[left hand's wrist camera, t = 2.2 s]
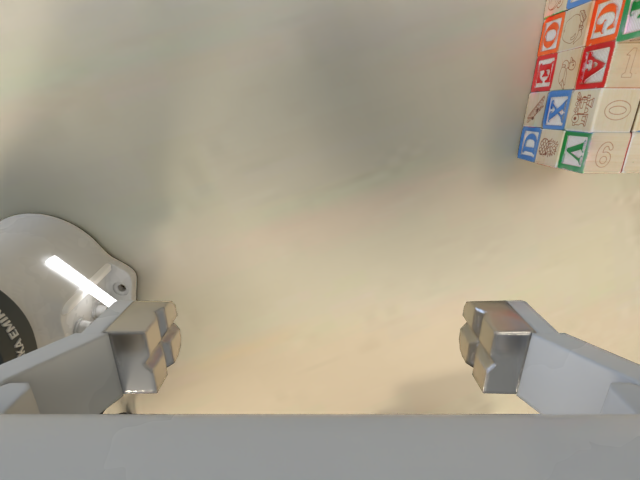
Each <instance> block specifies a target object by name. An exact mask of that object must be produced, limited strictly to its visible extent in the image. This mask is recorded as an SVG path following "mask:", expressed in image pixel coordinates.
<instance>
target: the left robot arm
mask: <svg viewBox="0 0 640 480" xmlns="http://www.w3.org/2000/svg"><path fill="white" fill-rule="evenodd" d="M121 285H124V286H125V287H126V288H123V287H122V286H121ZM136 290H137V275H136V273H135V271H134V270H133V269H132V268H131V267H129V266H128V265H126V264H124V263H123V262H121V261H119V260H117V259H115V258H113V257H111V256H110V255H109V254H108V253H107V252H106V251H105V250H104V249H103V248H102V247H101V246H100V245H99V244H98V243H97V242H96V241H95V240H94V239H93V238H92V237H91V236H89V235H88V234H87V233H86V232H84V231H83V230H81V229H80V228H78V227H77V226H75V225H73V224H71V223H69V222H67V221H65V220H62V219H59V218H56V217H53V216H49V215H44V214H33V213H28V214H19V215H14V216H10V217H8V218H5V219H3V220H1V221H0V480H640V365H639V364H637V363H634V362H632V361H629V360H627V359H625V358H622V357H620V356H618V355H615V354H613V353H611V352H608V351H606V350H603V349H601V348H599V347H596V346H594V345H592V344H589V343H587V342H585V341H582V340H580V339H578V338H575V337H573V336H570V335H568V334H566V333H558V332H557V331H556V330H555V329H554V328H553V327H552V326H551V325H550V324H549V323H548V322H547V321H546V320H545V319H543V318H542V317H541V316H540V315H539V314H538V313H537V312H536V311H535V310H534V309H533V308H532V307H531V306H530V305H529V304H528V303H527V302H525V301H522V300H511V301H471V302H466V304H465V306H464V310H463V317H464V318H465V320H466V321H467V322H466V324H465V325H464V326H463V327H462V328H461V329H460V335H459V344H460V351H461V354H462V357H463V359H464V360H465V362H466V363H467V364H468V365H470V366H472V367H473V374H472V375H473V376H474V378H475V380H476V382H477V383H478V385H479V387H480V389H481V390H482V392H483V393H499V394H517V396H518V397H519V398H521V399H522V400H523V401H525V402H526V403H527V404H528V405H530V406H531V407H532V408H534V409H535V410H536V411H538V412H539V413H540V414H127V413H120V414H103V412H104V411H105V409H106V408H108V407H109V406H110V405H112V404H113V403H114V402H116V401H117V400H118V399H120V398H121V397H122V396H123V394H140V393H157V392H158V390H159V389H160V387H161V385H162V383H163V382H164V380H165V378H166V376H167V375H168V374H167V367H168V366H170V365H172V364H173V363H174V362H175V360H176V359H177V357H178V354H179V350H180V346H181V334H180V329H179V328H178V327H177V326H176V325H175V324H174V322H173V321H174V320H175V318H176V317H177V311H176V306H175V304H174V303H173V302H172V301H136Z"/></svg>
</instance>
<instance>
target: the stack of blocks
mask: <svg viewBox="0 0 640 480" xmlns="http://www.w3.org/2000/svg"><path fill="white" fill-rule="evenodd" d="M537 56H538V59H537V63H536V68H535V73H534V78H533V83H532V88H531V93H530V94H529V98H528V104H527V109H526V114H525V119H524V124H523V130H522V135H521V140H520V145H519V151H518V157H517V158H519V159H523V160H527V161H531V162H536V163H538V164H541V165H545V166H550V167H554V168H560V169H565V170H569V171H574V172H578V173H640V0H547V1H546V7H545V12H544V24H543V30H542V35H541V39H540V45H539V50H538V55H537Z"/></svg>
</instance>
